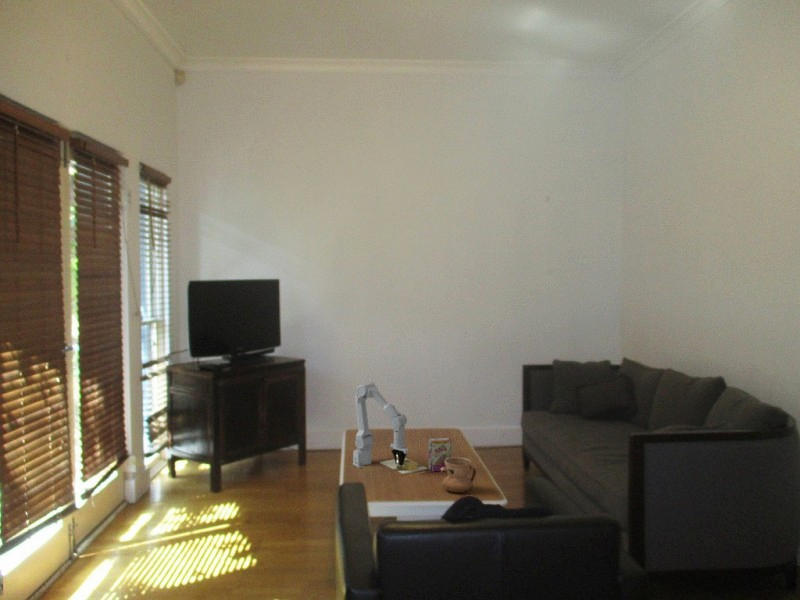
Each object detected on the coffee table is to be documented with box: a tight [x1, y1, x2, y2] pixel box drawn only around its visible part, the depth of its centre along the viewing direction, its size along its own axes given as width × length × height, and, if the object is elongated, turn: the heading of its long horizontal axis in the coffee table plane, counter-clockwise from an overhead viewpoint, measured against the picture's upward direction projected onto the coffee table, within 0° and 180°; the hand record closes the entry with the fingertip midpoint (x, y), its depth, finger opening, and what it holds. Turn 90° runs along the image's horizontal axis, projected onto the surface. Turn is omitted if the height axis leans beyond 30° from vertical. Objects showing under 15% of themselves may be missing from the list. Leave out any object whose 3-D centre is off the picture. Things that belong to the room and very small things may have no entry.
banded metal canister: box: [396, 454, 402, 468], centre depth 351 cm, size 3×3×7 cm
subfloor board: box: [378, 457, 429, 477], centre depth 359 cm, size 16×24×1 cm, turn 32°
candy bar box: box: [427, 437, 452, 473], centre depth 353 cm, size 11×5×16 cm, turn 102°
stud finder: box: [402, 458, 418, 471], centre depth 354 cm, size 5×9×3 cm, turn 32°
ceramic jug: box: [440, 456, 477, 493], centre depth 322 cm, size 18×14×14 cm
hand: (399, 464), depth 352 cm, fingers closed on banded metal canister, 3 cm apart
